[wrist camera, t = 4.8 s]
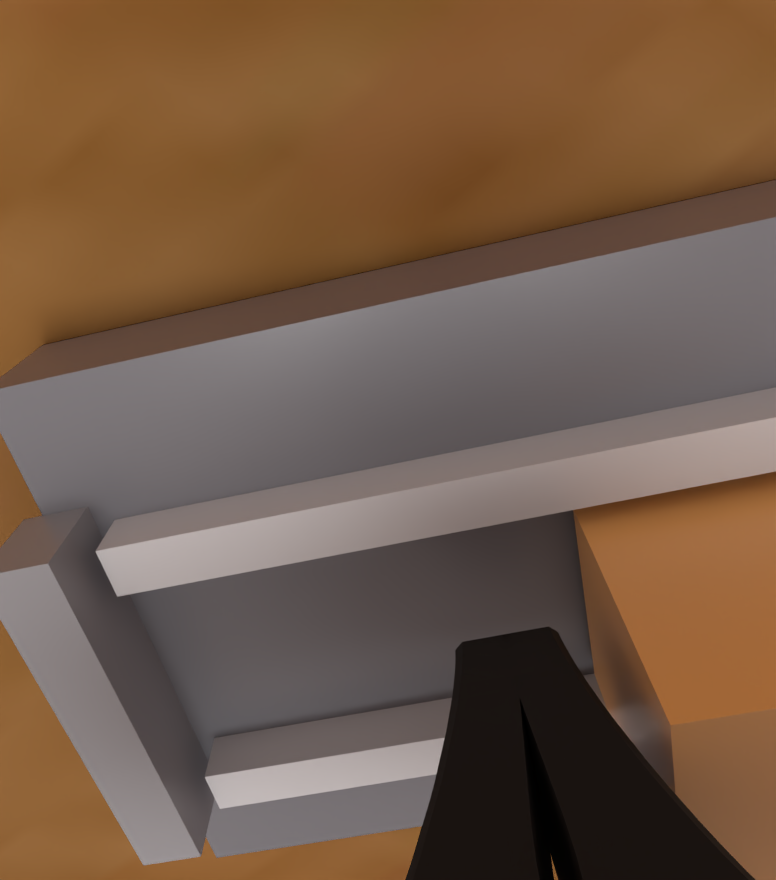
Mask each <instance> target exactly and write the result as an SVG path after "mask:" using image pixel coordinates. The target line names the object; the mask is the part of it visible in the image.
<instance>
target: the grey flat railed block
mask: <svg viewBox="0 0 776 880" xmlns="http://www.w3.org/2000/svg"><path fill="white" fill-rule="evenodd" d="M0 433H1V435H2V437H3V439H4V441H5V443H6V445H7V446H8V448H9V450H10V452H11V454H12V456H13V458H14V460H15V462H16V464H17V466H18V468H19V470H20V472H21V474H22V476H23V478H24V480H25V482H26V484H27V486H28V488H29V490H30V492H31V494H32V496H33V498H34V500H35V502H36V503H37V505H38V507H39V509H40V511H41V513H42V515H43V516H40V517H35V518H30V519H25V520H23V521H22V523H21V524H20V525H19V526H18V527H17V529H16V530H15V531H14V532H13V533H12V535H11V536H10V537H9V538H8V539H7V541H6V542H5V543H4V544H3V546H2V547H1V548H0V620H1V621H2V623H3V625H4V627H5V628H6V630H7V632H8V633H9V635H10V637H11V639H12V640H13V642H14V644H15V645H16V647H17V649H18V651H19V652H20V654H21V656H22V657H23V659H24V661H25V663H26V664H27V666H28V668H29V669H30V671H31V673H32V675H33V676H34V678H35V680H36V682H37V683H38V685H39V687H40V688H41V690H42V692H43V694H44V695H45V697H46V699H47V700H48V702H49V704H50V706H51V707H52V709H53V711H54V712H55V714H56V716H57V718H58V719H59V721H60V723H61V724H62V726H63V728H64V730H65V731H66V733H67V735H68V737H69V738H70V740H71V742H72V743H73V745H74V747H75V749H76V750H77V752H78V754H79V755H80V757H81V759H82V761H83V762H84V764H85V766H86V767H87V769H88V771H89V773H90V774H91V776H92V778H93V779H94V781H95V783H96V785H97V786H98V788H99V790H100V791H101V793H102V795H103V797H104V798H105V800H106V802H107V804H108V805H109V807H110V809H111V810H112V812H113V814H114V816H115V817H116V819H117V821H118V822H119V824H120V826H121V828H122V829H123V831H124V833H125V834H126V836H127V838H128V840H129V841H130V843H131V845H132V846H133V848H134V850H135V852H136V853H137V855H138V857H139V859H140V860H141V862H142V864H143V865H149V864H155V863H162V862H168V861H175V860H181V859H188V858H194V857H201V854H202V850H203V846H204V841H205V837H206V838H207V840H208V842H209V844H210V846H211V848H212V849H213V851H214V853H215V855H216V857H217V858H218V857H224V856H231V855H237V854H244V853H250V852H257V851H263V850H270V849H276V848H283V847H289V846H296V845H302V844H309V843H315V842H322V841H328V840H335V839H341V838H348V837H354V836H361V835H367V834H374V833H380V832H387V831H393V830H400V829H406V828H413V827H419V826H422V825H423V821H424V818H425V815H426V811H427V808H428V805H429V801H430V798H431V794H432V790H433V786H434V782H435V778H436V774H437V769H438V765H439V761H440V756H441V752H442V747H443V743H444V739H445V734H446V729H447V724H448V718H449V712H450V707H451V700H452V694H453V686H454V675H455V650H456V649H457V647H458V646H459V645H460V644H461V643H462V642H464V641H470V640H475V639H481V638H486V637H492V636H498V635H503V634H509V633H514V632H520V631H526V630H531V629H537V628H542V627H548V626H549V627H551V628H552V629H554V630H556V631H557V632H558V633H559V635H560V637H561V639H562V641H563V643H564V645H565V647H566V648H567V650H568V652H569V654H570V655H571V657H572V659H573V660H574V662H575V664H576V665H577V667H578V668H579V670H580V671H581V673H582V675H583V676H584V678H585V679H586V681H587V682H588V683H589V685H590V686H591V688H592V689H593V691H594V692H595V693H596V695H597V696H598V698H599V699H600V701H601V702H602V703H603V705H604V706H605V708H606V705H605V702H604V699H603V696H602V694H601V691H600V688H599V685H598V683H597V680H596V677H595V674H594V667H593V660H592V652H591V644H590V636H589V629H588V621H587V613H586V606H585V598H584V590H583V582H582V575H581V567H580V559H579V552H578V544H577V536H576V529H575V521H574V513H573V510H576V509H581V508H586V507H591V506H597V505H602V504H607V503H612V502H618V501H623V500H628V499H633V498H639V497H644V496H649V495H654V494H660V493H665V492H670V491H675V490H681V489H686V488H691V487H697V486H702V485H707V484H712V483H718V482H723V481H728V480H733V479H739V478H744V477H749V476H754V475H760V474H765V473H770V472H775V471H776V180H773V181H768V182H764V183H759V184H755V185H751V186H746V187H742V188H737V189H733V190H728V191H724V192H720V193H715V194H711V195H706V196H702V197H697V198H693V199H689V200H684V201H680V202H675V203H671V204H666V205H662V206H657V207H653V208H649V209H644V210H640V211H635V212H631V213H626V214H622V215H618V216H613V217H609V218H604V219H600V220H595V221H591V222H587V223H582V224H578V225H573V226H569V227H564V228H560V229H556V230H551V231H547V232H542V233H538V234H533V235H529V236H524V237H520V238H516V239H511V240H507V241H502V242H498V243H493V244H489V245H485V246H480V247H476V248H471V249H467V250H462V251H458V252H454V253H449V254H445V255H440V256H436V257H431V258H427V259H423V260H418V261H414V262H409V263H405V264H400V265H396V266H391V267H387V268H383V269H378V270H374V271H369V272H365V273H360V274H356V275H352V276H347V277H343V278H338V279H334V280H329V281H325V282H321V283H316V284H312V285H307V286H303V287H298V288H294V289H289V290H285V291H281V292H276V293H272V294H267V295H263V296H258V297H254V298H250V299H245V300H241V301H236V302H232V303H227V304H223V305H219V306H214V307H210V308H205V309H201V310H196V311H192V312H188V313H183V314H179V315H174V316H170V317H165V318H161V319H156V320H152V321H148V322H143V323H139V324H134V325H130V326H125V327H121V328H117V329H112V330H108V331H103V332H99V333H94V334H90V335H86V336H81V337H77V338H72V339H68V340H63V341H59V342H55V343H50V344H46V345H42V346H41V347H39V348H38V349H37V350H36V351H34V352H33V353H32V354H30V355H29V356H28V357H26V358H25V359H24V360H23V361H21V362H20V363H19V364H17V365H16V366H15V367H13V368H12V369H11V370H9V371H8V372H7V373H6V374H4V375H3V376H2V377H0ZM606 709H607V708H606Z"/></svg>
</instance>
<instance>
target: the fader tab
mask: <svg viewBox="0 0 776 880" xmlns="http://www.w3.org/2000/svg"><path fill="white" fill-rule="evenodd" d="M573 513H574V521H575V529H576V536H577V544H578V552H579V559H580V567H581V575H582V582H583V590H584V598H585V606H586V613H587V621H588V629H589V636H590V644H591V652H592V660H593V667H594V674H595V677H596V680H597V683H598V685H599V688H600V691H601V694H602V696H603V699H604V702H605V705H606V708H607V710H608V712H609V713H610V714H611V716H612V717H613V718H614V720H615V721H616V722H617V724H618V725H619V726H620V727H621V729H622V730H623V731H624V732H625V734H626V735H627V736H628V737H629V739H630V740H631V741H632V742H633V744H634V745H635V746H636V747H637V749H638V750H639V751H640V752H641V754H642V755H643V756H644V758H645V759H646V760H647V761H648V763H649V764H650V765H651V766H652V767H653V769H654V770H655V771H656V772H657V773H658V774H659V776H660V777H661V778H662V779H663V780H664V782H665V783H666V784H667V785H668V786H669V787H670V789H671V790H672V791H673V792H674V793H675V794H676V795H677V796H678V798H679V799H680V800H681V801H682V802H683V803H684V804H685V805H686V807H687V808H688V809H689V810H690V811H691V812H692V813H693V814H694V816H695V817H696V818H697V819H698V820H699V821H700V822H701V823H702V824H703V826H704V827H705V828H706V829H707V830H708V831H709V832H710V833H711V834H712V835H713V836H714V837H715V838H716V839H717V841H718V842H719V843H720V844H721V845H722V846H723V847H724V848H725V849H726V850H727V851H728V852H729V853H730V854H731V855H732V856H733V857H734V858H735V859H736V860H737V862H738V863H739V864H740V865H741V866H742V867H743V868H744V869H745V870H746V871H747V872H748V873H749V874H750V875H751V876H752V877H753V878H754V879H755V880H776V471H775V472H770V473H765V474H760V475H754V476H749V477H744V478H739V479H733V480H728V481H723V482H718V483H712V484H707V485H702V486H697V487H691V488H686V489H681V490H675V491H670V492H665V493H660V494H654V495H649V496H644V497H639V498H633V499H628V500H623V501H618V502H612V503H607V504H602V505H597V506H591V507H586V508H581V509H576V510H573Z"/></svg>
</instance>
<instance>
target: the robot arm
mask: <svg viewBox="0 0 776 880" xmlns="http://www.w3.org/2000/svg"><path fill="white" fill-rule="evenodd" d="M550 853H551V854H550ZM551 857H552V860H553V863H554V866H555V870H556V873H557V876H558V880H755V879H754V878H753V877H752V876H751V875H750V874H749V873H748V872H747V871H746V870H745V869H744V868H743V867H742V866H741V865H740V864H739V863H738V862H737V860H736V859H735V858H734V857H733V856H732V855H731V854H730V853H729V852H728V851H727V850H726V849H725V848H724V847H723V846H722V845H721V844H720V843H719V842H718V841H717V839H716V838H715V837H714V836H713V835H712V834H711V833H710V832H709V831H708V830H707V829H706V828H705V827H704V826H703V824H702V823H701V822H700V821H699V820H698V819H697V818H696V817H695V816H694V814H693V813H692V812H691V811H690V810H689V809H688V808H687V807H686V805H685V804H684V803H683V802H682V801H681V800H680V799H679V798H678V796H677V795H676V794H675V793H674V792H673V791H672V790H671V789H670V787H669V786H668V785H667V784H666V783H665V782H664V780H663V779H662V778H661V777H660V776H659V774H658V773H657V772H656V771H655V770H654V769H653V767H652V766H651V765H650V764H649V763H648V761H647V760H646V759H645V758H644V756H643V755H642V754H641V752H640V751H639V750H638V749H637V747H636V746H635V745H634V744H633V742H632V741H631V740H630V739H629V737H628V736H627V735H626V734H625V732H624V731H623V730H622V729H621V727H620V726H619V725H618V724H617V722H616V721H615V720H614V718H613V717H612V716H611V714H610V713H609V712H608V710H607V709H606V708H605V706H604V705H603V703H602V702H601V701H600V699H599V698H598V696H597V695H596V693H595V692H594V691H593V689H592V688H591V686H590V685H589V683H588V682H587V681H586V679H585V678H584V676H583V675H582V673H581V671H580V670H579V668H578V667H577V665H576V664H575V662H574V660H573V659H572V657H571V655H570V654H569V652H568V650H567V648H566V647H565V645H564V643H563V641H562V639H561V637H560V635H559V633H558V632H557V631H556V630H554V629H552V628H551V627H549V626H548V627H542V628H537V629H531V630H526V631H520V632H514V633H509V634H503V635H498V636H492V637H486V638H481V639H475V640H470V641H464V642H462V643H461V644H460V645H459V646H458V647H457V649H456V650H455V675H454V686H453V694H452V700H451V707H450V712H449V718H448V724H447V729H446V734H445V739H444V743H443V747H442V752H441V756H440V761H439V765H438V769H437V774H436V778H435V782H434V786H433V790H432V794H431V798H430V801H429V805H428V808H427V811H426V815H425V818H424V821H423V825H422V828H421V832H420V835H419V838H418V842H417V845H416V849H415V852H414V855H413V859H412V862H411V865H410V868H409V871H408V874H407V877H406V880H554V877H553V869H552V861H551Z"/></svg>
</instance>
